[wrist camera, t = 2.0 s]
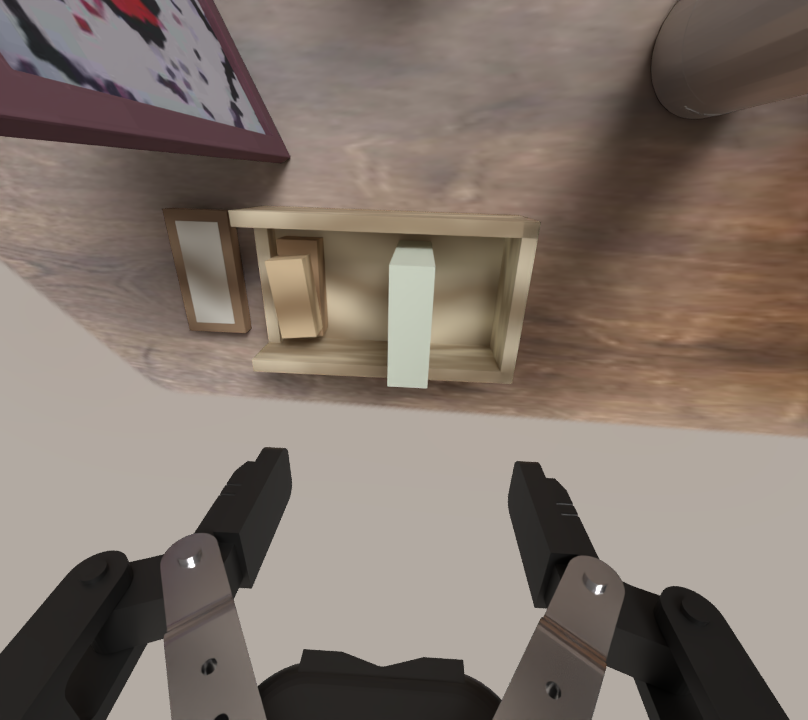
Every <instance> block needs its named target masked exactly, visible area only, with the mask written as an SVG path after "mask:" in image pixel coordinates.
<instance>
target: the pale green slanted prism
mask: <svg viewBox="0 0 808 720" xmlns="http://www.w3.org/2000/svg"><path fill="white" fill-rule="evenodd" d="M434 281H435V261H434V255H433V249H432V243H431V241H406V240H399V242H398V245H397V247H396V250H395V252H394V254H393V257H392V259H391V262H390V264H389V307H388V375H387V386H389V387H409V388H427V385H428V370H429V355H430V340H431V326H432V311H433V296H434Z"/></svg>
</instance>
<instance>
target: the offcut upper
mask: <svg viewBox="0 0 808 720" xmlns="http://www.w3.org/2000/svg"><path fill="white" fill-rule="evenodd" d="M265 265H266V270H267V274H268V278H269V283H270V287H271V292H272V296H273V300H274V305H275V309H276V314H277V318H278V322H279V327H280V331H281V336H282V338H300V337H316V336H317V335H318V333H319V332H320V330H321V329H322V328H323V326H322V320H321V315H320V309H319V303H318V297H317V292H316V286H315V280H314V275H313V269H312V263H311V257H310V254H301V255H286V256H275V257H273V258H271V259H269V260H266V261H265Z"/></svg>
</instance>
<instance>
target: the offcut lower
mask: <svg viewBox="0 0 808 720" xmlns="http://www.w3.org/2000/svg"><path fill="white" fill-rule="evenodd" d="M276 242H277V252H278V256H286V255H301V254H310V257H311V263H312V269H313V275H314V280H315V286H316V292H317V297H318V303H319V309H320V315H321V320H322V326H323V328H322V329H321V330H320V332H319V333H318V335H319V336H323V334H324V333H325V331H326V330H327V328H328V310H327V293H326V276H325V259H324V242H323V237H305V236H283V237H281V238H278V239H276Z"/></svg>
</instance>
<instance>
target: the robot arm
mask: <svg viewBox="0 0 808 720" xmlns="http://www.w3.org/2000/svg"><path fill="white" fill-rule="evenodd" d="M651 73H652V83H653V86H654V89H655V93H656V96H657V97H658V99H659V100H660V102H661V103H662V105H663V106H664V107H665V108H666V109H667V110H669V111H670V112H671V113H673V114H675V115H677V116H679V117H682V118H688V119H701V118H708V117H712V116H716V115H717V116H719V115H723V114H727V113H731V112H734V111H737V110H742V109H746V108H750V107H755V106H759V105H763V104H767V103H771V102H776V101H780V100H784V99H788V98H793V97H797V96H801V95H805V94H808V0H679V1H678V3H677V4H676V5H675V6H674V7H673V9H672V10H671V12H670V13H669V15H668V17H667V18H666V20H665V21H664V23H663V25H662V28H661V30H660V32H659V34H658V37H657V39H656V43H655V47H654V51H653V54H652V65H651ZM291 489H292V478H291V471H290V463H289V455H288V450H287V449H286V448H271V447H265V448H263V449H262V451H261V453H260V454H259V456H258V458H257V459H256V461H255V462H252V461H247V462H246V463H244V465H242V466H241V467H239V468H238V469H237V470H236V471H235V472H234V473H233V475H232V476H231V478H230V479H229V481H228V482H227V485H226V486H225V487H224V488H223V490H222V491H221V494H220V496H218V498H217V499H216V501H215V502H214V504H213V505H212V507H211V508H210V510H209V511H208V513H207V514H206V516H205V518H204V519H203V521H202V522H201V524H200V525H199V527H198V528H197V530H196V531H195V533H194V534H191V535H189V536H186V537H184V538H182V539H180V540H178V541H177V542H176V543H174V544H173V545H172V546H171V547H170V548H169V549H168V550H167V551H166V552H165V554H163V555H159V556H155V557H151V558H146V559H142V560H137V561H133V562H129V561H128V559H127V557H126V555H125V554H124V553H122V552H120V551H106V552H102V553H99V554H96V555H93V556H91V557H89V558H87V559H86V560H84V561H82V562H81V563H79V564H78V565H77V566H75V567H74V568H73V569H72V570H71V571H70V572H69V573H68V574H67V575H66V577H65V578H64V579H63V580H62V581H61V582H60V584H59V585H58V586H57V587H56V588H55V590H54V591H53V592H52V593H51V594H50V596H49V597H48V598H47V599H46V600H45V601H44V603H43V604H42V605H41V606H40V607H39V609H38V610H37V611H36V612H35V613H34V614H33V616H32V617H31V618H30V619H29V621H27V623H26V624H25V625H24V626H23V627H22V629H21V630H20V631H19V632H18V633H17V635H16V636H15V637H14V638H13V639H12V641H11V642H10V643H9V644H8V645H7V646H6V648H5V649H4V650H3V651H2V652H1V653H0V720H106V719H107V717H108V715H109V713H110V711H111V710H112V708H113V706H114V704H115V702H116V700H117V699H118V697H119V695H120V693H121V691H122V689H123V687H124V686H125V684H126V682H127V680H128V678H129V676H130V675H131V673H132V671H133V669H134V667H135V665H136V664H137V662H138V660H139V658H140V656H141V654H142V652H143V651H144V649H145V647H146V645H147V643H149V642H153V641H157V640H161V639H164V649H165V659H166V668H167V679H168V689H169V699H170V709H171V718H172V720H592V716H593V712H594V709H595V706H596V703H597V699H598V696H599V692H600V689H601V685H602V681H603V678H604V674H605V671H606V666H608V667H610V668H613V669H615V670H617V671H620V672H622V673H625V674H627V675H629V676H631V677H633V678H634V680H635V683H636V685H637V688H638V691H639V693H640V696H641V699H642V701H643V704H644V706H645V709H646V712H647V714H648V717H649V719H650V720H789V718H788V717H787V715H786V713H785V712H784V710H783V709H782V708H781V706H780V704H779V703H778V701H777V700H776V698H775V696H774V695H773V693H772V692H771V690H770V689H769V687H768V685H767V684H766V682H765V681H764V679H763V678H762V676H761V675H760V673H759V672H758V670H757V668H756V667H755V665H754V664H753V662H752V661H751V659H750V657H749V656H748V654H747V653H746V651H745V650H744V648H743V647H742V645H741V643H740V642H739V640H738V639H737V637H736V636H735V634H734V632H733V631H732V629H731V628H730V626H729V625H728V623H727V622H726V620H725V619H724V617H723V616H722V614H721V613H720V612H719V611H718V610H717V608H716V607H715V606H714V605H713V604H711V602H709V601H708V600H707V599H705V598H704V597H703V596H701V595H700V594H698V593H696V592H694V591H692V590H689V589H686V588H683V587H679V586H671V587H668V588H666V589H664V590H663V592H662V593H661V595H660V596H659V595H657V594H654V593H651V592H648V591H645V590H642V589H639V588H636V587H634V586H631V585H629V584H627V583H625V582H623V581H622V580H621V578H620V577H619V575H618V574H617V573H616V572H615V571H614V570H613V569H612V568H611V567H610V566H609V565H607V564H606V563H604V562H603V561H601V560H599V558H598V556H597V554H596V552H595V550H594V547H593V545H592V543H591V541H590V539H589V537H588V535H587V533H586V531H585V529H584V526H583V524H582V522H581V520H580V518H579V517H578V514H577V512H576V509H575V508H574V506H573V503H572V501H571V499H570V497H569V495H568V493H567V490H566V489H565V488H564V487H563V486H562V485H561V484H560V483H559V482H558V481H557V480H556V479H553V478H546V477H545V475H544V472H543V470H542V468H541V465H540V464H539V463H538V462H523V461H517V462H515V464H514V469H513V474H512V479H511V484H510V489H509V494H508V508H509V514H510V518H511V521H512V525H513V529H514V532H515V536H516V540H517V544H518V547H519V551H520V555H521V559H522V562H523V566H524V570H525V573H526V577H527V581H528V585H529V588H530V592H531V596H532V600H533V603H534V607H535V608H547V611H546V613H545V615H544V617H542V618H541V619H540V621H539V623H538V625H537V627H536V629H535V631H534V633H533V635H532V637H531V640H530V642H529V644H528V646H527V648H526V650H525V652H524V654H523V656H522V658H521V661H520V663H519V665H518V667H517V669H516V671H515V673H514V675H513V677H512V680H511V682H510V684H509V686H508V688H507V690H506V692H505V694H504V696H503V699H502V700H501V699H500V698H499V697H498V696H497V695H496V694H495V693H494V692H493V691H492V690H491V689H490V688H488V687H487V686H485V685H484V684H483V683H481V682H480V681H478V680H476V679H474V678H472V677H470V676H468V675H465V674H464V665H463V660H457V659H442V658H427V657H423V658H419V659H414V660H410V661H406V662H402V663H398V664H394V665H389V666H385V667H380V666H377V665H375V664H372V663H370V662H367V661H364V660H362V659H359V658H357V657H354V656H352V655H349V654H346V653H344V652H337V651H322V650H307V649H304V650H303V654H302V657H301V661H300V663H299V664H295V665H292V666H290V667H287V668H284V669H283V670H281V671H279V672H277V673H275V674H273V675H272V676H270V677H269V678H268V679H266V680H265V681H263V682H262V683H261V684H260V685H259V686H257V683H256V679H255V676H254V672H253V668H252V665H251V661H250V658H249V654H248V650H247V647H246V643H245V639H244V636H243V632H242V628H241V625H240V621H239V618H238V614H237V610H236V607H235V603H234V597H235V595H236V593H237V591H238V589H239V588H252V586H253V584H254V581H255V579H256V577H257V574H258V572H259V570H260V567H261V565H262V563H263V560H264V558H265V556H266V553H267V551H268V548H269V546H270V544H271V541H272V539H273V537H274V534H275V532H276V529H277V527H278V525H279V522H280V520H281V518H282V515H283V513H284V511H285V508H286V505H287V503H288V501H289V498H290V495H291Z"/></svg>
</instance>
